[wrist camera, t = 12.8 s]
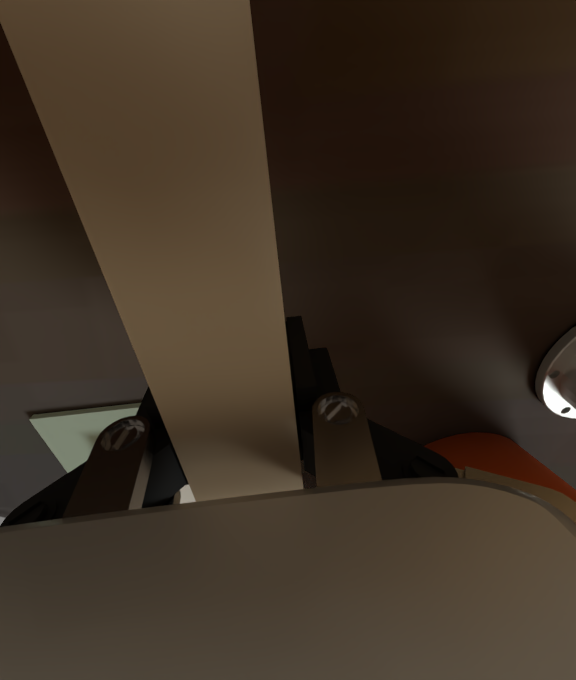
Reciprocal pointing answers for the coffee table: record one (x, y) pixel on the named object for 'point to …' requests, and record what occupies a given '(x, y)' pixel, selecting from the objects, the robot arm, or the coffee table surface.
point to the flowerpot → (498, 459)
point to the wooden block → (176, 214)
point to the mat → (77, 430)
